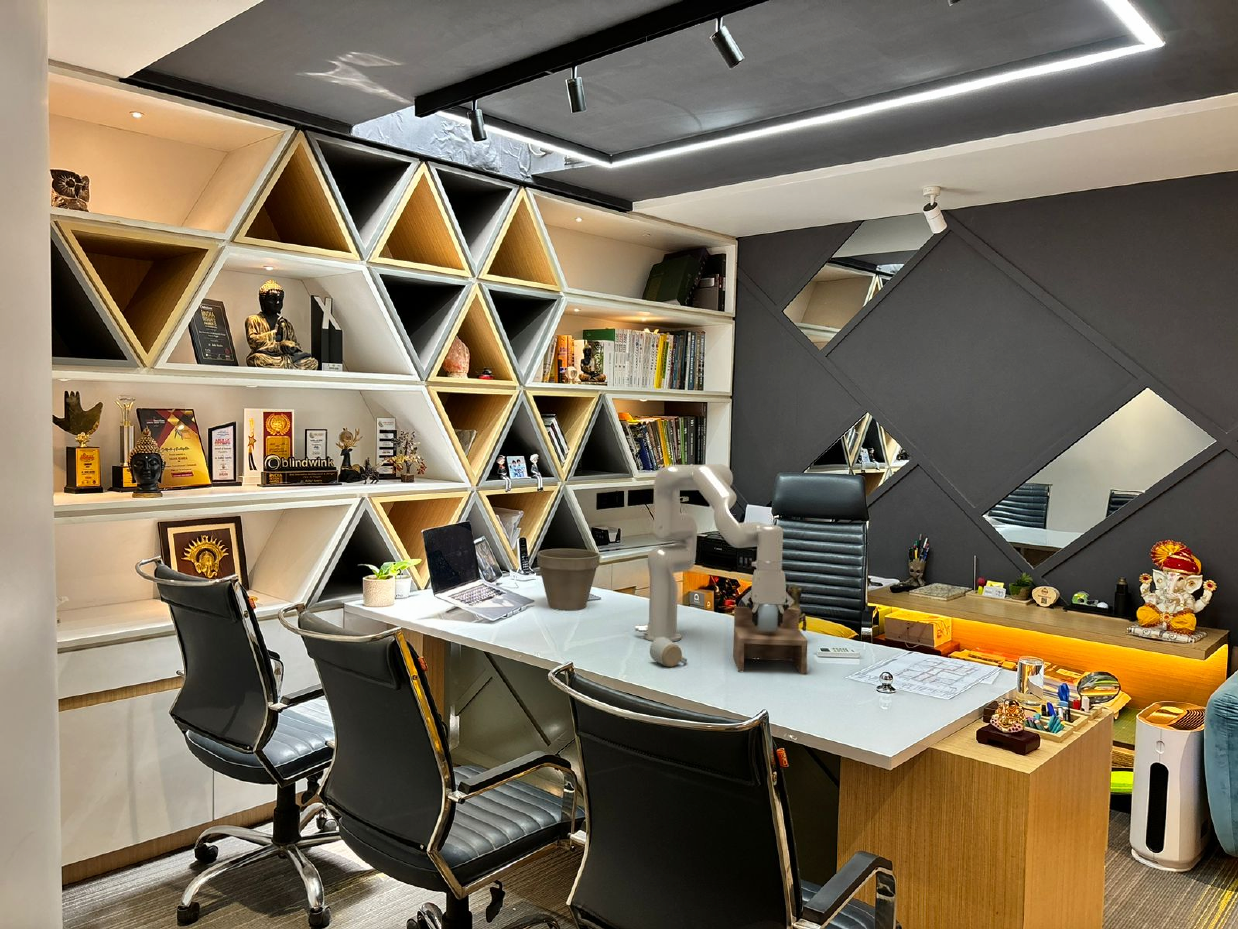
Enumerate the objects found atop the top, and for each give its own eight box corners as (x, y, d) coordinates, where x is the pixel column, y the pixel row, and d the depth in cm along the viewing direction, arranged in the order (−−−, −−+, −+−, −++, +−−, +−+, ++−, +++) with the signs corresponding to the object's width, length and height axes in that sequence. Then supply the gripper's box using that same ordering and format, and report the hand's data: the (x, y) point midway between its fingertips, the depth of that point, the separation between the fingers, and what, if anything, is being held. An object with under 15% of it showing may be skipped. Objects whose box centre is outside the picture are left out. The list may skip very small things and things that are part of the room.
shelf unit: (738, 671, 268) (740, 618, 268) (733, 657, 286) (734, 606, 285) (806, 674, 267) (808, 620, 267) (796, 659, 285) (798, 608, 284)
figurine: (817, 642, 309) (819, 583, 309) (773, 653, 292) (775, 591, 291) (785, 635, 318) (787, 578, 318) (741, 646, 301) (743, 585, 300)
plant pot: (587, 616, 343) (588, 558, 342) (526, 610, 350) (527, 554, 349) (606, 604, 367) (607, 550, 366) (549, 599, 374) (550, 547, 373)
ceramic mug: (662, 669, 269) (663, 643, 269) (648, 662, 276) (649, 637, 276) (692, 666, 274) (693, 641, 274) (678, 659, 281) (679, 635, 281)
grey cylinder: (755, 626, 278) (756, 600, 277) (776, 627, 278) (777, 601, 277) (757, 631, 271) (758, 604, 271) (779, 631, 271) (780, 605, 271)
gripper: (741, 567, 270) (739, 626, 271) (800, 569, 270) (797, 629, 270) (739, 563, 278) (737, 621, 278) (796, 565, 277) (793, 623, 278)
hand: (767, 624), depth 274 cm, fingers closed on grey cylinder, 6 cm apart
